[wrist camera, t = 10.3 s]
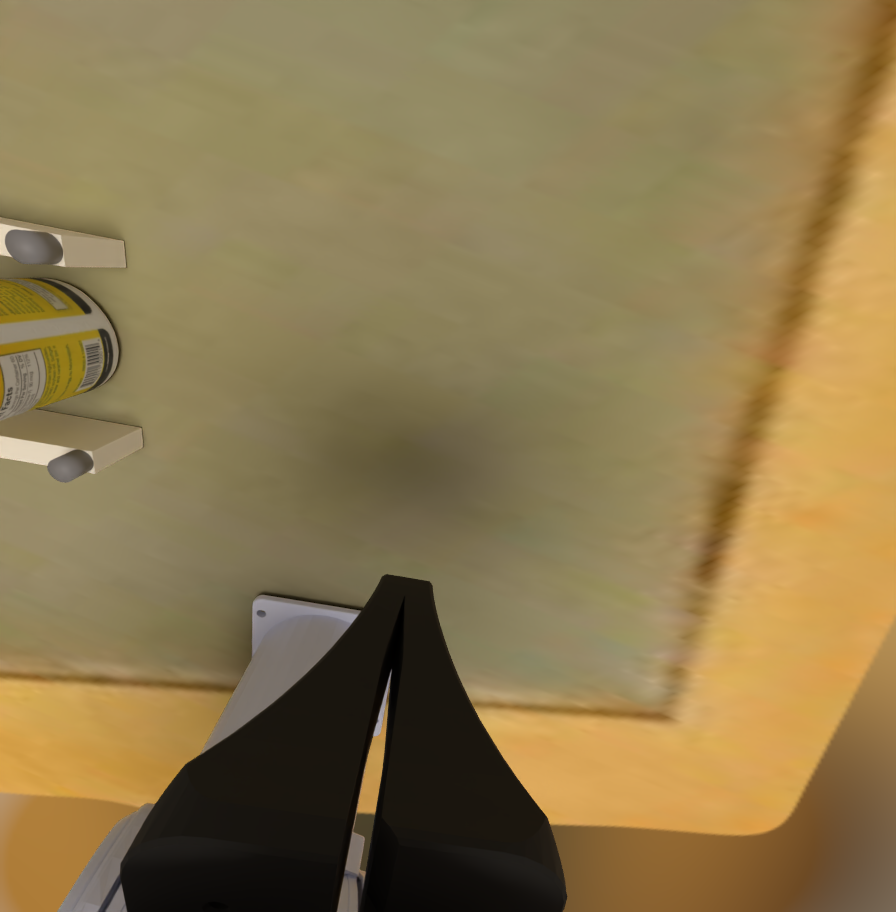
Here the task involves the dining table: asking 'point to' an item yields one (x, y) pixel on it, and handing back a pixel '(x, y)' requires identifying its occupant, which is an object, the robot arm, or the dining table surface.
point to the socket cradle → (48, 433)
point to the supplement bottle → (50, 344)
